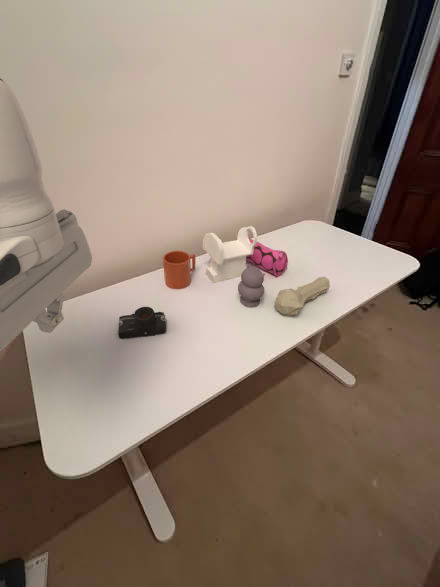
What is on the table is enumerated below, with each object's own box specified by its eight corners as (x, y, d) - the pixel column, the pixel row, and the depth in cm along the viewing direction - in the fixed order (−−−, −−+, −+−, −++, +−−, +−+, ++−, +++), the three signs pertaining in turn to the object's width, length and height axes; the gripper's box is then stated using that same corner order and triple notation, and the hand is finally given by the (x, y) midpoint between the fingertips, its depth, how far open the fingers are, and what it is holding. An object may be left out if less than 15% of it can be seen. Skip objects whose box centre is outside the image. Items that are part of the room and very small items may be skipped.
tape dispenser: (237, 262, 115) (241, 217, 104) (254, 280, 105) (260, 233, 95) (202, 270, 109) (203, 223, 99) (217, 289, 100) (220, 240, 89)
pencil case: (229, 257, 117) (230, 234, 111) (245, 249, 123) (248, 226, 117) (273, 281, 106) (277, 256, 100) (289, 271, 111) (294, 247, 105)
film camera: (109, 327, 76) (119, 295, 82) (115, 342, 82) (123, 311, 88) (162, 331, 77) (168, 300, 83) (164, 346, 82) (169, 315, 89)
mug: (175, 292, 98) (173, 267, 92) (159, 280, 103) (157, 256, 97) (203, 279, 105) (203, 255, 99) (187, 268, 110) (186, 245, 104)
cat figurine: (231, 298, 97) (234, 266, 90) (249, 290, 101) (253, 258, 94) (249, 312, 91) (253, 280, 84) (267, 303, 95) (273, 271, 88)
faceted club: (265, 306, 93) (313, 281, 107) (284, 326, 89) (331, 298, 103) (276, 287, 86) (325, 263, 100) (297, 308, 83) (345, 280, 97)
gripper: (51, 202, 43) (74, 281, 52) (-95, 280, 27) (-27, 378, 35) (91, 207, 42) (109, 287, 51) (-33, 290, 26) (22, 388, 34)
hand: (52, 325), depth 43 cm, fingers closed
